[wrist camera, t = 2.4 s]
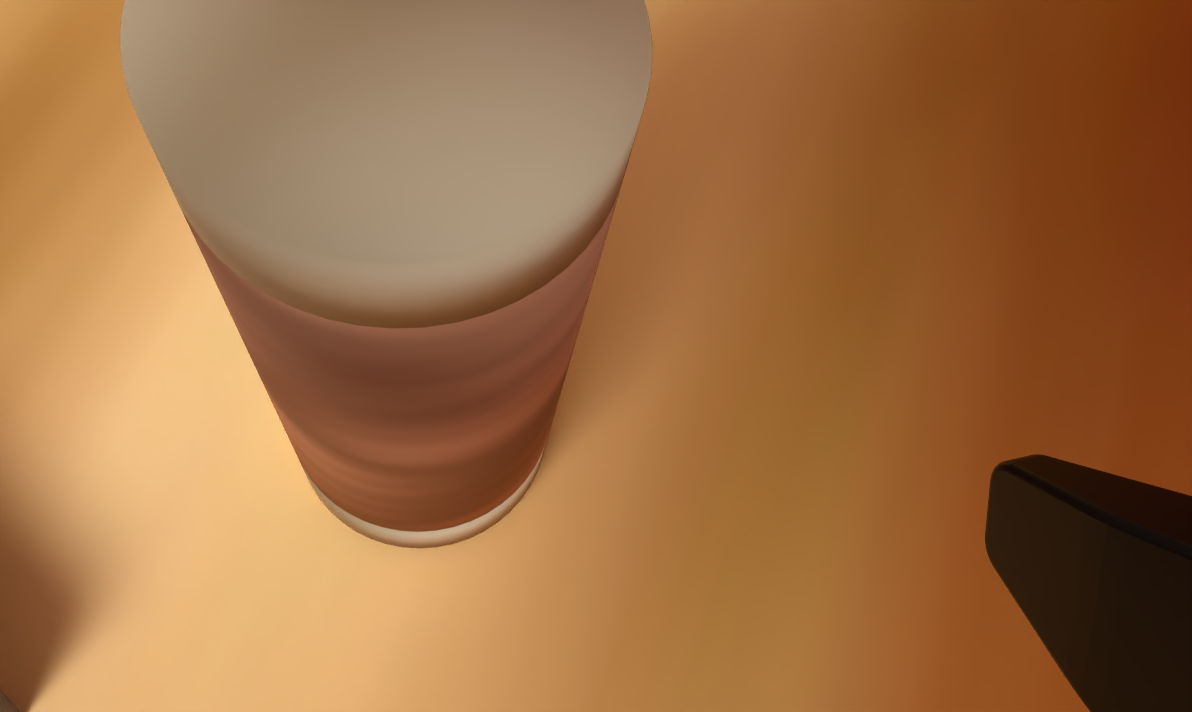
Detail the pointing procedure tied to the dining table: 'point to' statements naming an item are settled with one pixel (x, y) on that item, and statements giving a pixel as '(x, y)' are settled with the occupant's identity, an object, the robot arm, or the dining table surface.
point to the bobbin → (399, 222)
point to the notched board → (6, 704)
